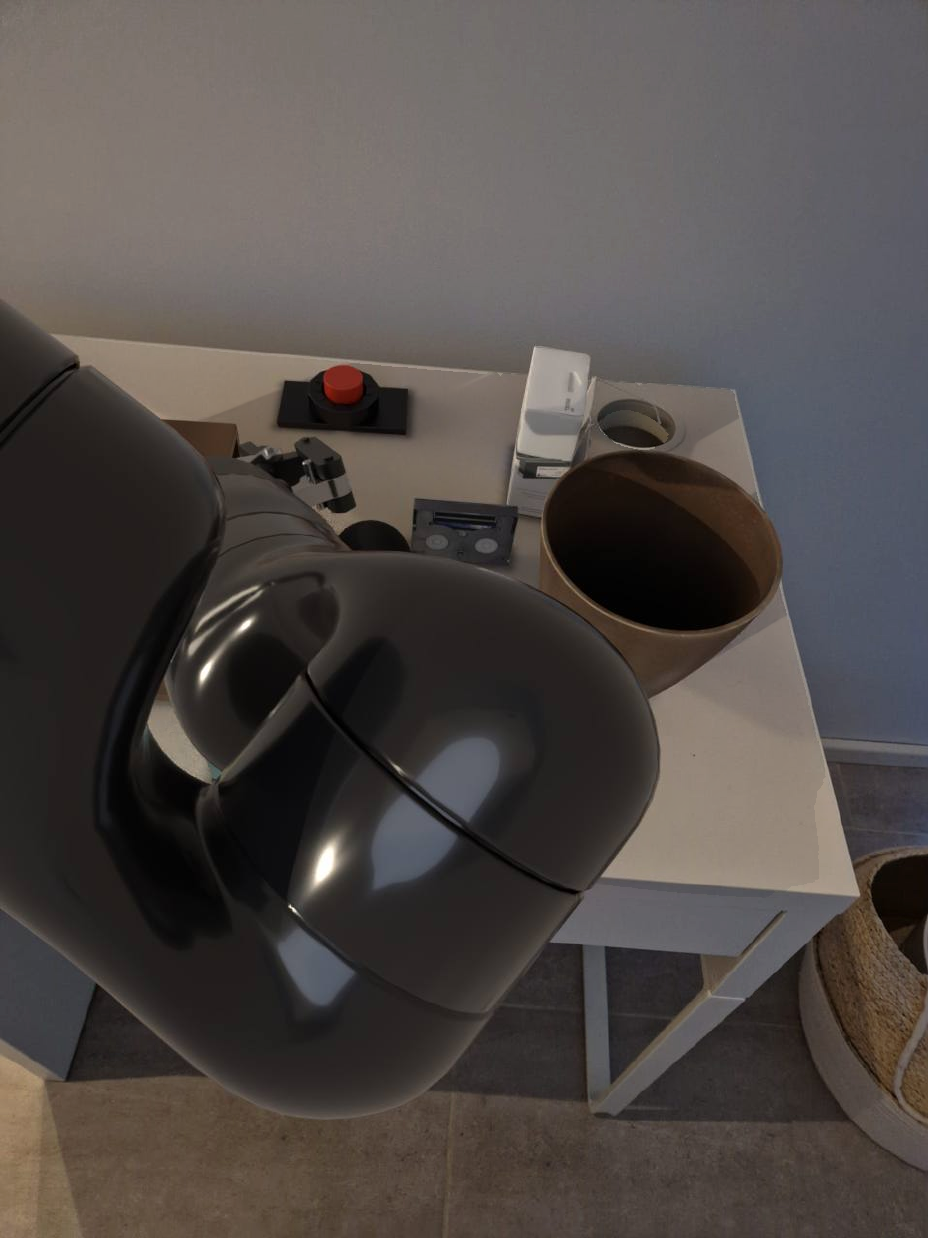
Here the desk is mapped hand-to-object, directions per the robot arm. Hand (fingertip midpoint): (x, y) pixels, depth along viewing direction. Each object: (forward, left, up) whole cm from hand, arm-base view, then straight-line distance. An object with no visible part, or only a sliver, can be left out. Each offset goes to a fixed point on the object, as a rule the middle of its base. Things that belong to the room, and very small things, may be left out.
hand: (174, 487), depth 43 cm
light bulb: (+10, +6, -19) cm, 23 cm away
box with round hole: (+32, +26, -19) cm, 45 cm away
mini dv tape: (+17, +13, -19) cm, 29 cm away
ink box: (+24, +22, -19) cm, 38 cm away
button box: (+6, +30, -19) cm, 36 cm away
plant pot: (+28, +2, -19) cm, 34 cm away
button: (+6, +30, -17) cm, 35 cm away
